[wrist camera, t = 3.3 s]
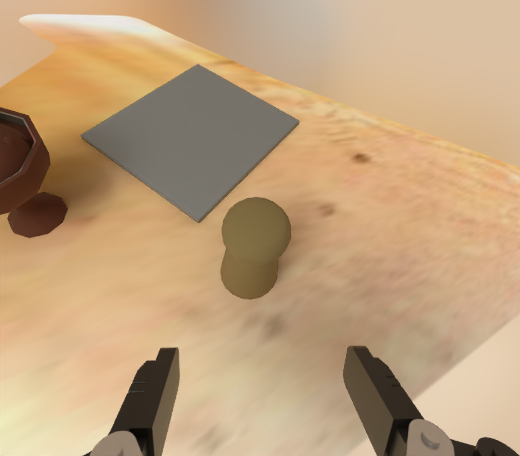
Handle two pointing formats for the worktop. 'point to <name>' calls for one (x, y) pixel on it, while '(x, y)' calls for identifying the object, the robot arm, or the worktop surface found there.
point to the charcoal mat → (192, 138)
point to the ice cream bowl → (25, 178)
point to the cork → (253, 246)
